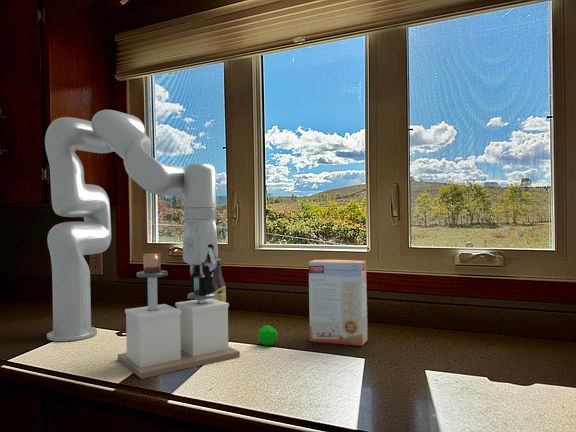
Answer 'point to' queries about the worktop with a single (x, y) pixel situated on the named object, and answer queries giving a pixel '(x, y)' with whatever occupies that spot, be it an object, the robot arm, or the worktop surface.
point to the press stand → (176, 337)
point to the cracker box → (338, 302)
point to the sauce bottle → (219, 283)
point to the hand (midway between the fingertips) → (201, 291)
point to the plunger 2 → (200, 298)
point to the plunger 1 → (152, 278)
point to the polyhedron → (267, 335)
